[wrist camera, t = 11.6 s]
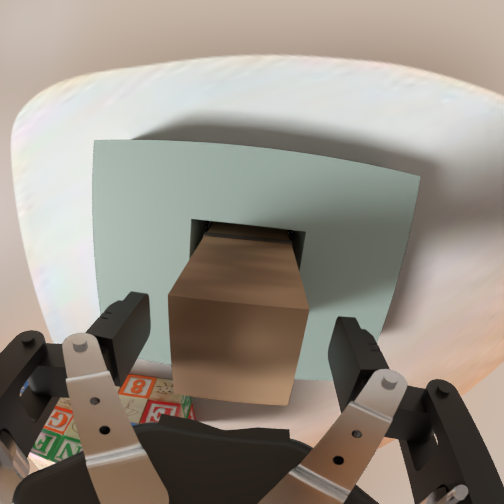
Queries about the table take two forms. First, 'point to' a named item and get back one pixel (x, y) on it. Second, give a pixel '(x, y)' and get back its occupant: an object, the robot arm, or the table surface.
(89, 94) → the table surface
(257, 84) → the table surface
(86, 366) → the robot arm
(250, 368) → the walnut peg
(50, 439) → the stack of blocks
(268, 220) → the socket board
